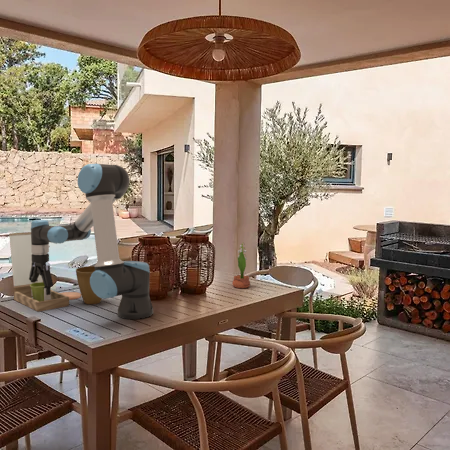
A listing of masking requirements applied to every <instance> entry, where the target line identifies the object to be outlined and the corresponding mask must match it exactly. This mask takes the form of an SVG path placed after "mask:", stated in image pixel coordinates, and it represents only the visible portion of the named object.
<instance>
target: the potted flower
mask: <svg viewBox="0 0 450 450" xmlns="http://www.w3.org/2000/svg"><path fill="white" fill-rule="evenodd" d="M244 245H245V243H241V244H240V245H239V249H238V250H237V254H238V256H237V267H238V269H239V272H240V275H234V276H233V280H232V282H231V283H232V286H233V287H234V288H237V289H248V288H250V285H251V281H250V276H248V275H245V270H246V267H247V261H246V260H248V257H247V256H246V253H247V249H246V247H244ZM244 253H245V254H244Z"/></svg>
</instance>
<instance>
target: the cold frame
mask: <svg viewBox="0 0 450 450" xmlns="http://www.w3.org/2000/svg"><path fill="white" fill-rule="evenodd" d="M60 293H61V292H58V291H55V290H53V289H51V300H46V301H40V302H39V301H37V300H35V299H33V296H32V292H31V287H30V284H27V285H20V286H13V300H14V301H15V302H18V303H20V304H22V305H23V306H26V307H28V308H30V309H32V310H33V311H35V312H43V311H49V310H54V309H59V308H65V307H69V306H70V300H69V297H68V296H65V295H63V294H60Z"/></svg>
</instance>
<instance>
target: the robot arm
mask: <svg viewBox="0 0 450 450" xmlns="http://www.w3.org/2000/svg"><path fill="white" fill-rule="evenodd" d="M130 180H131V179H130V176H129V173H128V171H127V170H126V169H125V168H124V167H122V166H121V165H117V164H105V163H88V164H87V163H86V165H83V166H82V167H81V169H80V171H79V172H78V175H77V186H78V190H79V191H81V192H82V193H84V194H85V199H86V200H87V201H88V202H89V204H88V205H87V207H86V208H85V209H84V210H83V211H82V213H81V214H80V215H79V216H78V218H76V220H75V221H74V222H73V223H72V224H64V225H50V223H49V221H48V220H47V219H35V220H32V221H31V222H30V223H31V225H30V232H31V253H33V254H32V266H31V271H30V276H29V280H31V282H32V283H31V284H33V283H38V282H36V281H38V280H37V279H38V277H39V274H40V275H41V277H42V279H43V282H44V285H45V286H44V301H46V300H51V290H52V287H54V282H53V279H52V278H53V277H52V273H51V268H50V267H51V266H50V265H47V263H48V262H49V261H50V243H51V244H52V243H53V244H56V245H57V244H63V243H65V242H71V241H82V240H86V239H89V238H90V236H91V233H92V229H93V234H94V242H95V249H96V258H97V261H96V263H95V264H94V265H93V266H94V267H95V271H94V272H93V273H92V274H91V277H90V285H91V288H92V290H93V292H94V293H95V294H96V295H97V296H98V297H100V298H102V300H105V299H106V300H107V299H113V298H115V297H118V296H121V299H120V302H119V305H118V308H117V317H120V318H122V319H127V320H141V319H140V318H142V319H145V317H147V318H149V316H150V317H151V315H152V314H153V315H154V308H153V304H152V301H151V298H150V276H151V275H150V274H151V272H150V265H149V263H147V262H145V261H136V260H122V259H121V258H120V253H119V244H118V236H117V235H118V234H117V230H116V229H117V228H116V220H115V212H114V203H115V202H116V201H117V200H119V199H121V198H122V197H124V195H126V193H127V191H128V189H129V187H130V182H131V181H130ZM31 292H32V289H31ZM32 296H33V294H32ZM153 315H152V316H153Z"/></svg>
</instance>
